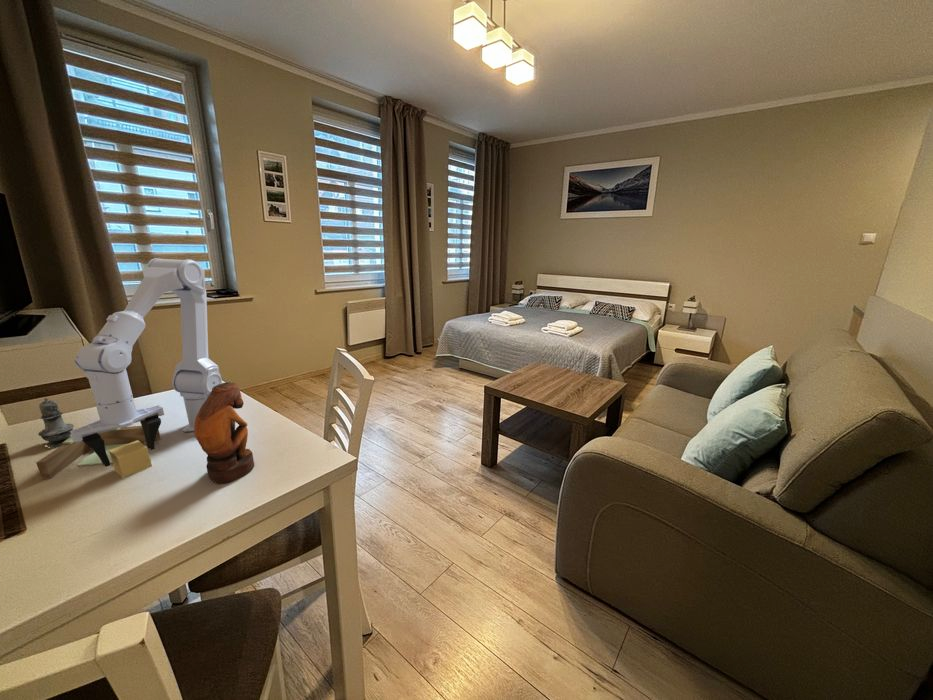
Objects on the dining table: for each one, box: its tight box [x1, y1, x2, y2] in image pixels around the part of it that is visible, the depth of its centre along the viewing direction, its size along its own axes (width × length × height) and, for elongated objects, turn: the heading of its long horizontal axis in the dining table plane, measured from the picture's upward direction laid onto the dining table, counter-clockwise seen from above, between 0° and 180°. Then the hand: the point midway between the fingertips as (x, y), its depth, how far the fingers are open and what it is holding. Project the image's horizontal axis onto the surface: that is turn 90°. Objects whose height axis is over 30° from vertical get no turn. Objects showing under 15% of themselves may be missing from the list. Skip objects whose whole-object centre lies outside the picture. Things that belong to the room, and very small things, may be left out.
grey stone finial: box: [37, 397, 75, 449], centre depth 88 cm, size 6×6×12 cm
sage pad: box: [77, 444, 126, 467], centre depth 86 cm, size 8×8×1 cm
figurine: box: [193, 381, 255, 484], centre depth 79 cm, size 9×10×20 cm
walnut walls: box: [35, 425, 162, 480], centre depth 84 cm, size 15×14×4 cm
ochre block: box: [109, 440, 153, 478], centre depth 81 cm, size 5×5×5 cm
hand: (129, 456), depth 81 cm, fingers open, 7 cm apart
